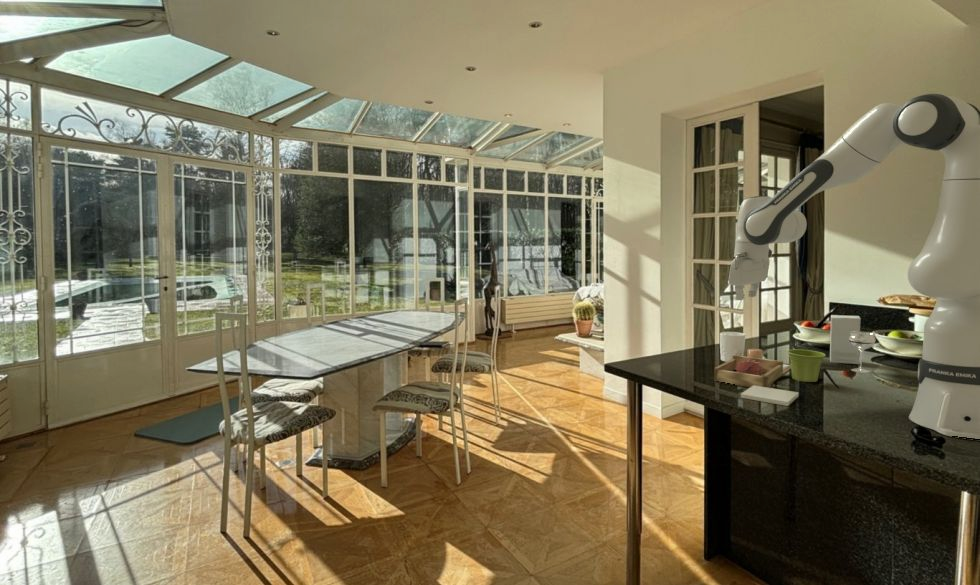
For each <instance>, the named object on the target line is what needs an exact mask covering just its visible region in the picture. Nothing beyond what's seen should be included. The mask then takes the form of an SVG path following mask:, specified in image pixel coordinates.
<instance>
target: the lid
mask: <svg viewBox="0 0 980 585" xmlns="http://www.w3.org/2000/svg"><path fill="white" fill-rule="evenodd" d="M788 371H791V362H790V363H789V362H783V375H785V374H786V373H788Z"/></svg>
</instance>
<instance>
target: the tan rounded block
mask: <svg viewBox="0 0 980 585" xmlns="http://www.w3.org/2000/svg"><path fill="white" fill-rule="evenodd" d="M746 352H747V353H746V354H747V356H746V357H752V358H760V359H763V357H764V356H763V355H764V354H763V352H764V351H763V349H761V348H747V350H746Z"/></svg>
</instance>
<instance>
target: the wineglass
mask: <svg viewBox="0 0 980 585" xmlns="http://www.w3.org/2000/svg"><path fill="white" fill-rule="evenodd" d="M850 334H851V335H850V336H849V341H850V343H851V344H852V345H853V346H854V347H855V348H857V349H858V350H859V351H860V355H859V367H856V368H852V369H850V370H851V372H855V373H862V374H863V373H865V374H866V373H870V372H871V371H870V370H867V369H865V368H862V363H863V357H864V356H863V355H864V351H865V350H868V349H870V348H872V347H873V346H874V345H875V344H876V337H875V336H876V333H875V332H871V331H861V330H860V331H851V332H850Z"/></svg>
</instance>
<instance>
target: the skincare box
mask: <svg viewBox="0 0 980 585" xmlns="http://www.w3.org/2000/svg"><path fill="white" fill-rule="evenodd" d="M861 320H862V318H861V317H860V316H859V315H839V314H831V315H830V332H829V333H830V338H829V340H830V341H829V342H830V343H829V344H830V345H829V360H830V361H829V362H830V363H836V364H848V365H852V364H853V365H860V351H859V350H858V349H857V348H855V347H854V346H853V345H852V344H851V343H850V341H849V336H850V335H851V334H850V332H851V331H861Z"/></svg>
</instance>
